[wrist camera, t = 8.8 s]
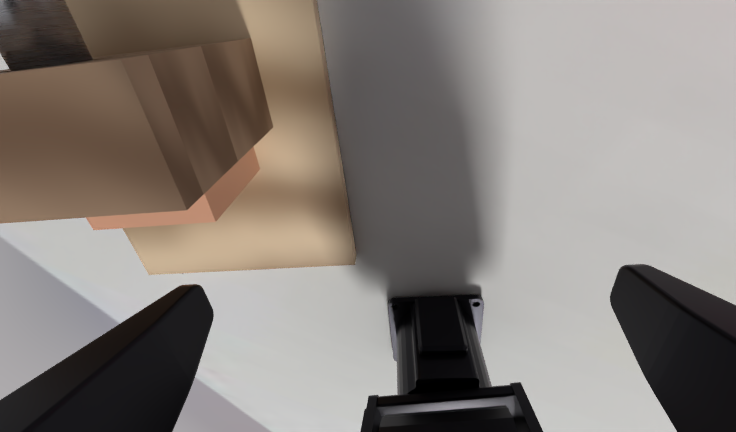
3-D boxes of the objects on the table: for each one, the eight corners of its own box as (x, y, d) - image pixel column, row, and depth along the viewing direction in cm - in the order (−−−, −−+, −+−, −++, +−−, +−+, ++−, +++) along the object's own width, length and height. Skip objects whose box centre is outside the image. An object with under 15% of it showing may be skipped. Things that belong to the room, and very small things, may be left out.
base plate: (356, 254, 22) (355, 264, 21) (157, 265, 23) (149, 274, 23) (263, -339, 10) (252, -371, 10) (-119, -246, 12) (-158, -267, 11)
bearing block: (273, 127, 17) (186, 210, 10) (127, 141, 18) (-53, 227, 11) (250, 37, 15) (121, 59, 8) (86, 58, 16) (-169, 94, 9)
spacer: (260, 169, 18) (215, 221, 14) (166, 176, 19) (93, 230, 14) (249, 133, 17) (197, 176, 13) (151, 142, 18) (67, 187, 13)
